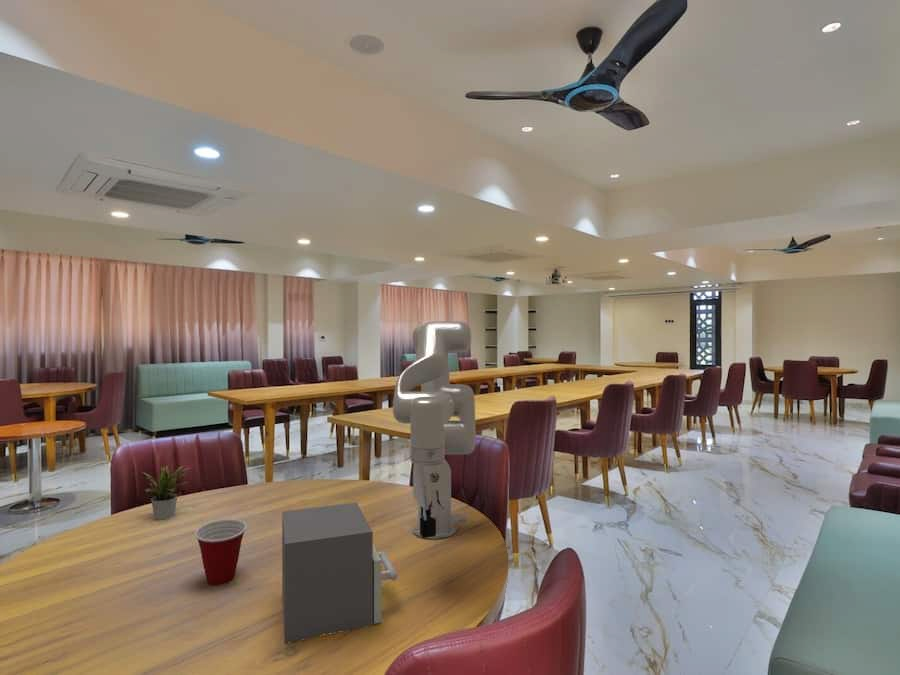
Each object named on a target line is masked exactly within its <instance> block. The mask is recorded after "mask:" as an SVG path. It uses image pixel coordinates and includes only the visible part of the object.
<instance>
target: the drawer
mask: <svg viewBox="0 0 900 675" xmlns="http://www.w3.org/2000/svg"><path fill="white" fill-rule="evenodd" d="M389 558H390V557H388V555H387V552H386V551H385V550H380V551H379V552H378V550H377V549H376V547H375V545H374V544H373V624H380V623H382V581H388V580H390V581H396V580H397V578H398V573H397V571H396V569H395V567H394V566H393V564H392V562H391V560H390V559H389ZM382 565H383V568H384V569H385V570H382Z"/></svg>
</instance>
